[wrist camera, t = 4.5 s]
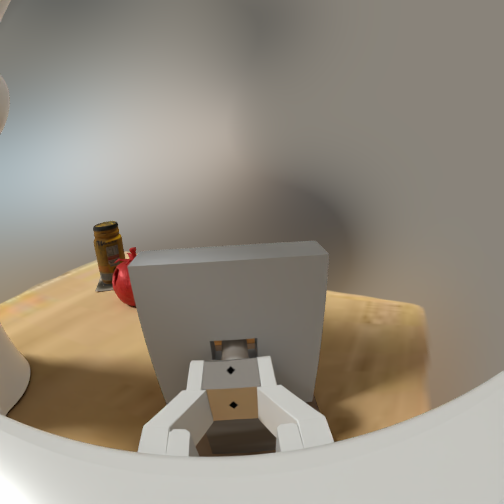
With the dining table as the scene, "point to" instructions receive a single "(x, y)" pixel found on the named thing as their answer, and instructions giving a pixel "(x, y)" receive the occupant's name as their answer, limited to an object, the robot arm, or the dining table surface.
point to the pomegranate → (124, 280)
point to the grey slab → (233, 308)
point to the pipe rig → (238, 430)
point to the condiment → (107, 252)
